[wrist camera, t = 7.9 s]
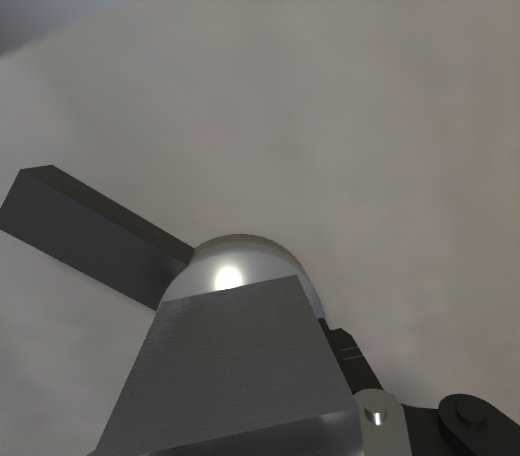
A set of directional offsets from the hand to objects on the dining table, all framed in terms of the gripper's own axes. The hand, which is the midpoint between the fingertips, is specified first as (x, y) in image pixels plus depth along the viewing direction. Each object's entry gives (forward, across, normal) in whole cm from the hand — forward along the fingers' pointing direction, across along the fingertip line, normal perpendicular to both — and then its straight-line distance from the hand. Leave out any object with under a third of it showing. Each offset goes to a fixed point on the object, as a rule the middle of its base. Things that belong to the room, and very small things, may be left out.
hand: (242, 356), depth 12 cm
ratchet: (+4, +2, -2) cm, 5 cm away
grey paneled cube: (+1, 0, 0) cm, 1 cm away
